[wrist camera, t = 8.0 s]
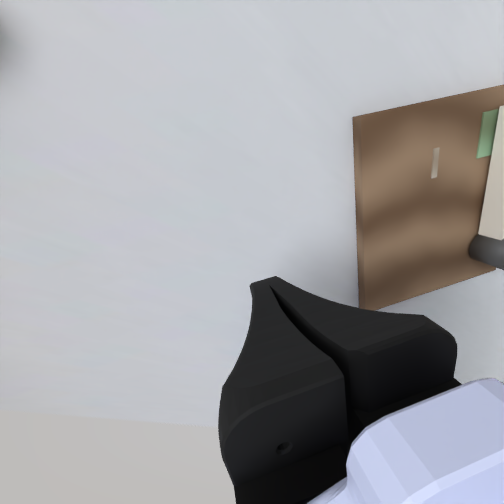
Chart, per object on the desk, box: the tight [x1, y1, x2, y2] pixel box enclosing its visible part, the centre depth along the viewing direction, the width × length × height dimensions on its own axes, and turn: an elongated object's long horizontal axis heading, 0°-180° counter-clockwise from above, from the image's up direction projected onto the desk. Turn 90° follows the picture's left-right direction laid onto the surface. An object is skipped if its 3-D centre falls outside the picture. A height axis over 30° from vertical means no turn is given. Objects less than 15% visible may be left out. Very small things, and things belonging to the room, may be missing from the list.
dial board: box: [353, 85, 504, 311], centre depth 24 cm, size 18×16×1 cm
